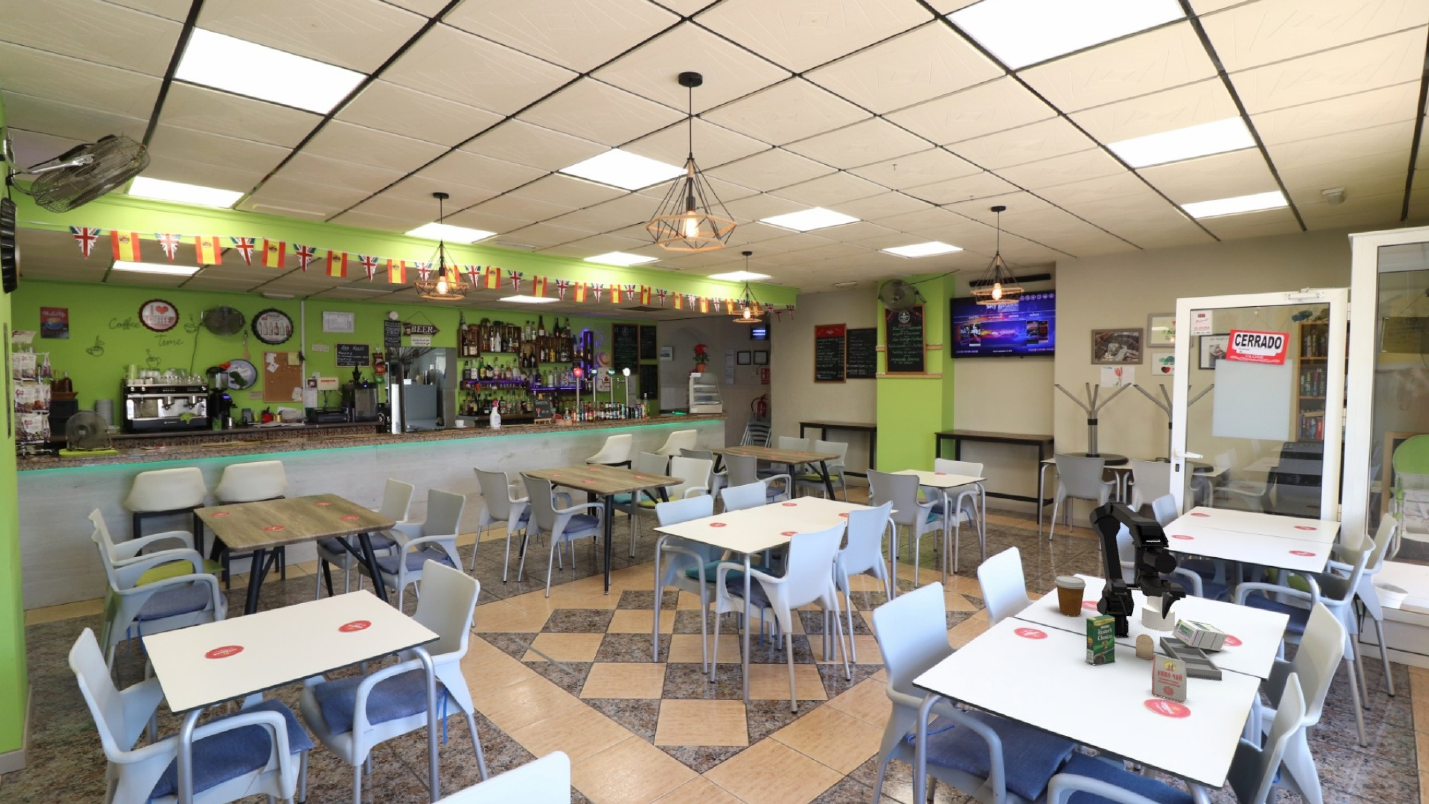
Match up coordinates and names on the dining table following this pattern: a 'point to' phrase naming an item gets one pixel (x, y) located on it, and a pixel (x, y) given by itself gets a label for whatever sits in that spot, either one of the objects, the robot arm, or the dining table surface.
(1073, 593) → the disposable coffee cup
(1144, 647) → the beige domed cylinder
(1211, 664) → the grey divided tray
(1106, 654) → the coffee box
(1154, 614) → the base with upright slab
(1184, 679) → the tea bag
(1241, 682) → the dining table surface
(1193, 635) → the syrup box
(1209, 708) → the dining table surface
